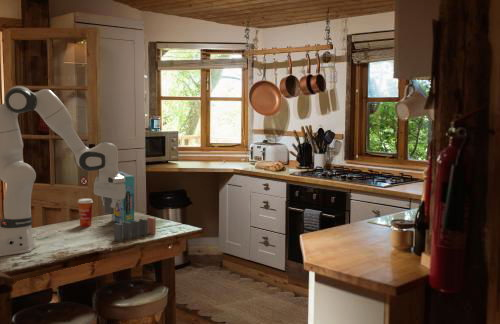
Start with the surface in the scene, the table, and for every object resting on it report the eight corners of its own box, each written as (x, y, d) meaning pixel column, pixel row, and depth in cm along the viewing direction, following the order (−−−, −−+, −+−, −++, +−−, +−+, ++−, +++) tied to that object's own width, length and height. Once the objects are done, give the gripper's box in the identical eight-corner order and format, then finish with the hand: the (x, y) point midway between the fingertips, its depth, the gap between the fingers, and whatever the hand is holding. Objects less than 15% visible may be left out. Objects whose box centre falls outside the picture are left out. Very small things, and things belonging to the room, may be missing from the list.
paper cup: (75, 226, 290) (74, 200, 288) (84, 223, 297) (83, 197, 296) (87, 227, 287) (87, 201, 286) (96, 224, 294) (96, 199, 293)
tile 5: (145, 236, 272) (145, 220, 271) (139, 234, 274) (139, 218, 274) (147, 235, 273) (147, 219, 272) (142, 234, 276) (141, 218, 275)
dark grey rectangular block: (110, 214, 255) (110, 197, 254) (105, 212, 258) (105, 196, 257) (113, 213, 256) (113, 196, 255) (108, 212, 259) (107, 195, 258)
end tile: (153, 234, 275) (153, 218, 275) (147, 233, 278) (147, 217, 277) (155, 233, 277) (155, 218, 276) (149, 232, 280) (149, 216, 279)
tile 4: (136, 237, 268) (136, 221, 267) (131, 236, 271) (131, 220, 270) (139, 237, 269) (139, 221, 268) (133, 235, 272) (133, 219, 271)
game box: (111, 220, 306) (110, 171, 303) (122, 219, 310) (121, 171, 307) (123, 227, 289) (122, 176, 286) (134, 226, 292) (134, 175, 289)
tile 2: (119, 241, 260) (119, 225, 259) (114, 240, 263) (114, 223, 262) (122, 241, 262) (122, 224, 261) (117, 239, 264) (116, 223, 264)
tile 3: (128, 239, 264) (128, 223, 263) (122, 238, 267) (122, 221, 266) (131, 239, 265) (131, 222, 264) (125, 237, 268) (125, 221, 267)
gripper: (90, 175, 260) (90, 204, 261) (116, 180, 246) (116, 210, 248) (101, 174, 264) (101, 203, 266) (127, 178, 251) (128, 208, 253)
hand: (109, 206), depth 257 cm, fingers closed on dark grey rectangular block, 4 cm apart
